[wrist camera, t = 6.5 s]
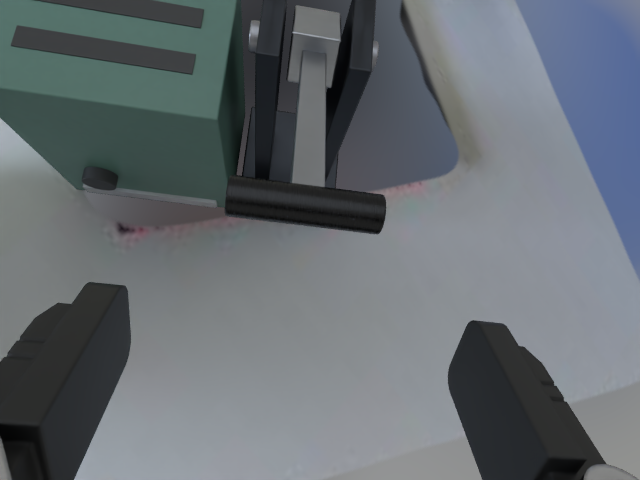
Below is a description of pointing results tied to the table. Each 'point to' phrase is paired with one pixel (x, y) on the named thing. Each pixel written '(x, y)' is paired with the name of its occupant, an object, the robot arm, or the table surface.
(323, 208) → the lever
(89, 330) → the robot arm
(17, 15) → the toaster
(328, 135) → the lever bracket
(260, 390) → the table surface
